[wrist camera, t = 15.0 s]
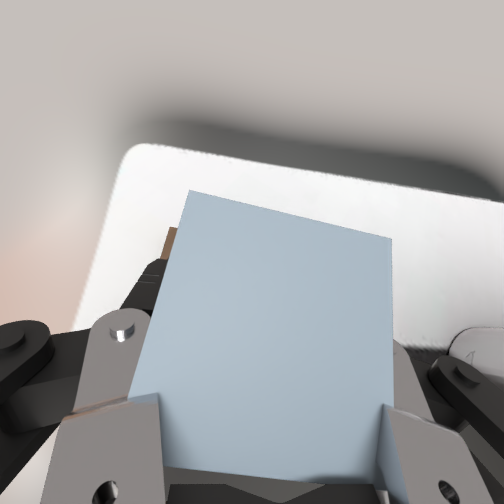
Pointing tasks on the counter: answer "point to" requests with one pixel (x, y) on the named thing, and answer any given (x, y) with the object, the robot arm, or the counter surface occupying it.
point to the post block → (271, 345)
